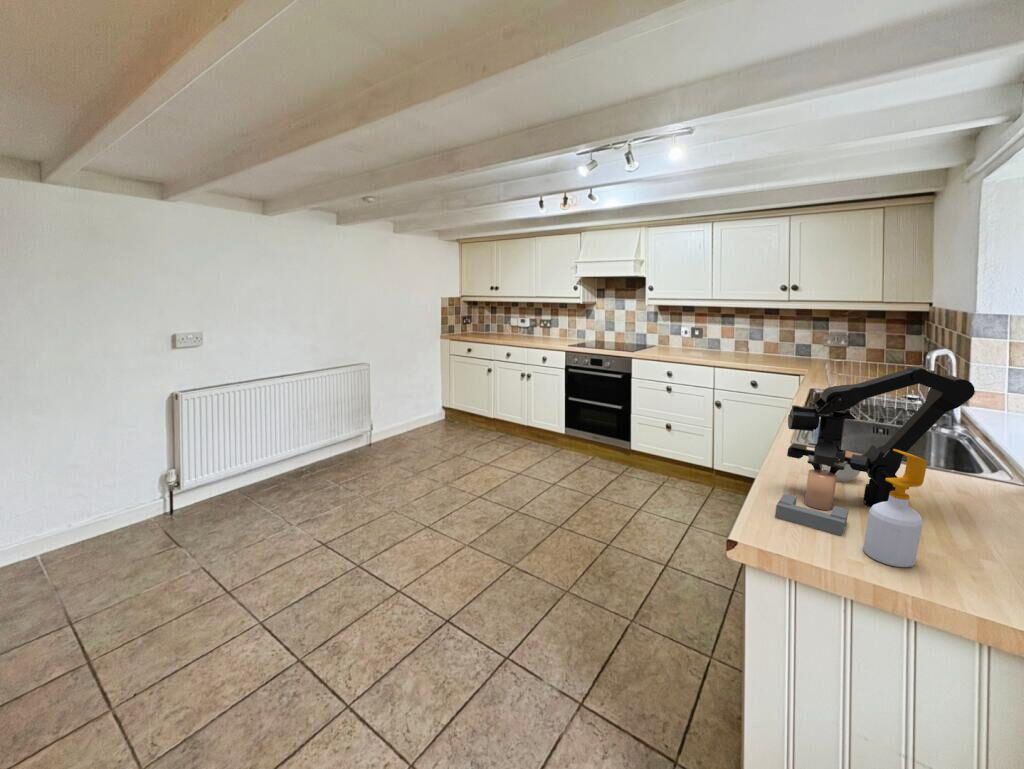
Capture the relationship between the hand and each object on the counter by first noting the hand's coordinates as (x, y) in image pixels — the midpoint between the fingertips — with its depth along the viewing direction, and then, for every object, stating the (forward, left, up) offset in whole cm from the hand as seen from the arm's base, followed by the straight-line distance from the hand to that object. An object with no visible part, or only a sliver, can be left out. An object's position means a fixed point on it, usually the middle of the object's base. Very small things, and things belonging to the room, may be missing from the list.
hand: (823, 485), depth 132 cm
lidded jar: (-2, -20, -4) cm, 20 cm away
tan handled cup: (0, +5, -3) cm, 6 cm away
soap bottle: (-16, +26, -4) cm, 31 cm away
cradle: (0, +18, -4) cm, 18 cm away
